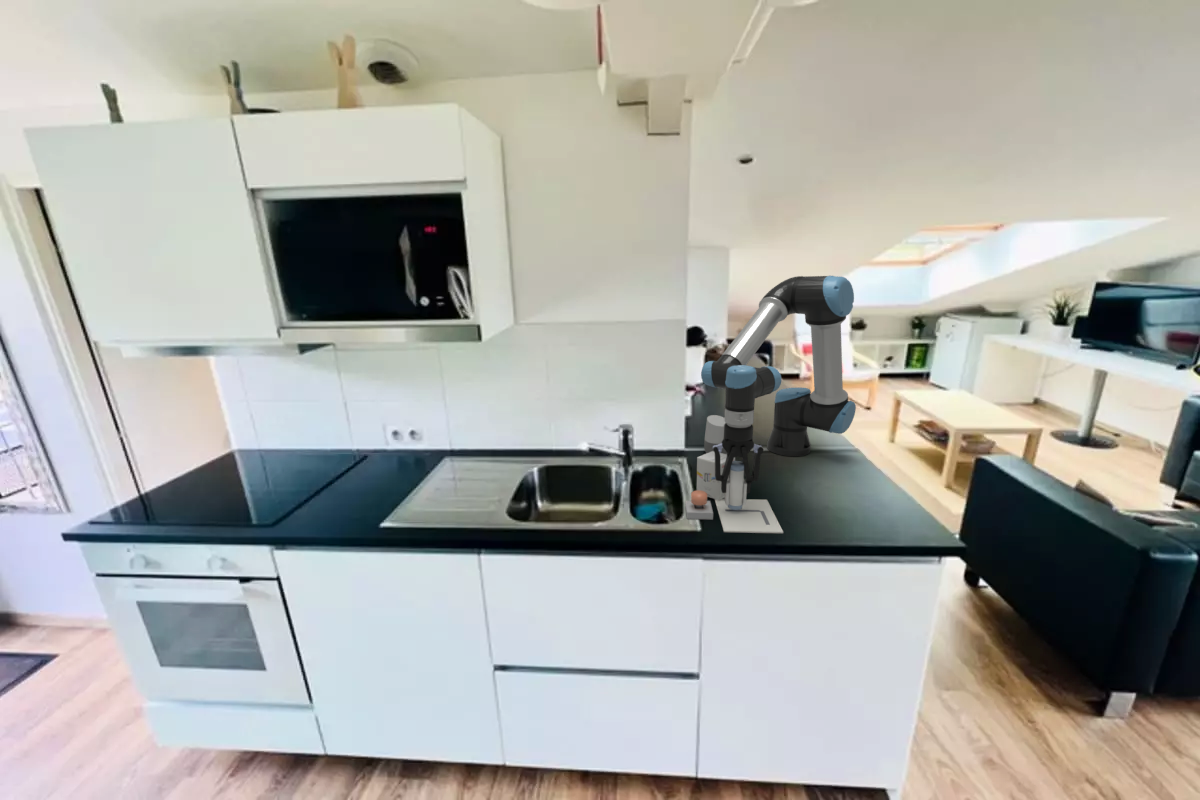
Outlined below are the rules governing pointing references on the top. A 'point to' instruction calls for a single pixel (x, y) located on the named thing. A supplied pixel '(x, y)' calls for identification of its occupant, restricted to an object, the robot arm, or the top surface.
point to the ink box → (710, 475)
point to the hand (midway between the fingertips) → (735, 502)
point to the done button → (699, 498)
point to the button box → (698, 511)
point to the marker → (736, 485)
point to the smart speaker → (714, 433)
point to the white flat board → (748, 517)
